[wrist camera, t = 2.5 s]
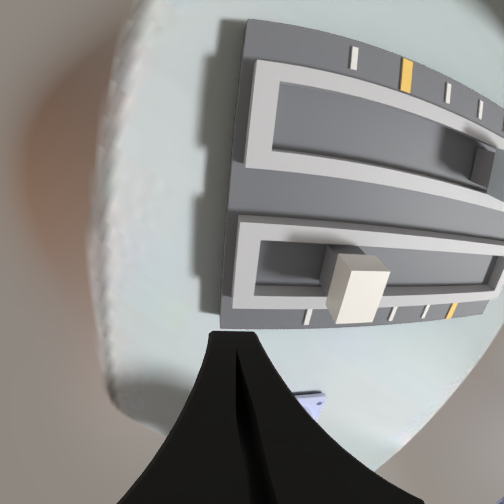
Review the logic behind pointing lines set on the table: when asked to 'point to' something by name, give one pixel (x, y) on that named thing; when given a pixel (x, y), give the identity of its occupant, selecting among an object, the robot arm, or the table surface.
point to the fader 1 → (352, 283)
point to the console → (355, 182)
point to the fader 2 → (489, 171)
